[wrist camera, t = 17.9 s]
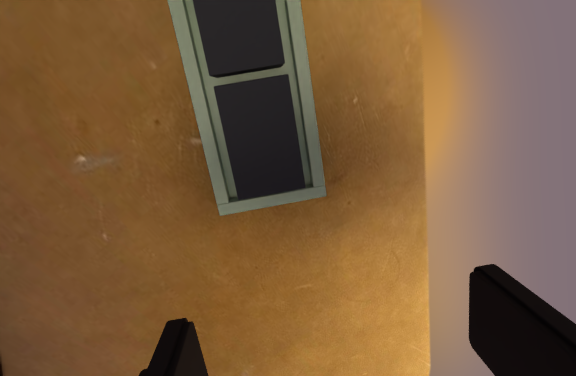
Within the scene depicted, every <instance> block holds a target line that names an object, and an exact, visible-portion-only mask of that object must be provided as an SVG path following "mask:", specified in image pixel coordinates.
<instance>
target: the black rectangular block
mask: <svg viewBox="0 0 576 376" xmlns="http://www.w3.org/2000/svg"><path fill="white" fill-rule="evenodd" d="M193 5H194V9H195V14H196V18H197V23H198V27H199V32H200V36H201V41H202V45H203V50H204V54H205V59H206V63H207V68H208V72H209V76H212V77H215V78H221V77H227V76H233V75H239V74H245V73H251V72H257V71H263V70H269V69H275V68H280V67H282V66H283V65H284V64H285V59H284V52H283V46H282V39H281V33H280V27H279V20H278V14H277V7H276V1H275V0H193Z"/></svg>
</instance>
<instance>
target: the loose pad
mask: <svg viewBox="0 0 576 376" xmlns="http://www.w3.org/2000/svg"><path fill="white" fill-rule="evenodd" d="M214 92H215V96H216V101H217V106H218V110H219V115H220V119H221V124H222V128H223V133H224V138H225V142H226V147H227V151H228V156H229V160H230V165H231V169H232V174H233V179H234V183H235V188H236V192H237V197H238V200H242V199H248V198H253V197H259V196H264V195H270V194H275V193H281V192H286V191H292V190H297V189H303V188H306V186H305V179H304V173H303V166H302V160H301V153H300V147H299V140H298V133H297V127H296V120H295V114H294V107H293V101H292V94H291V88H290V81H289V75H288V74H284V75H278V76H272V77H266V78H261V79H255V80H249V81H243V82H237V83H231V84H225V85H219V86H214Z"/></svg>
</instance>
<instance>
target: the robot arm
mask: <svg viewBox="0 0 576 376" xmlns="http://www.w3.org/2000/svg"><path fill="white" fill-rule="evenodd" d="M469 286H470V287H469V291H470V292H469V341H470V344H471V346H472V348H473V349H474V350H475V352H476V353H477V354H478V355H479V357H480V358H481V359H482V360H483V362H484V363H485V364H486V365H487V366H488V368H489V369H490V370H491V371H492V373H493V374H494V375H495V376H576V324H575V323H573V322H572V321H571V320H569V319H568V318H567V317H565V316H564V315H563V314H561V313H560V312H558V311H557V310H556V309H554V308H553V307H552V306H550V305H549V304H548V303H546V302H545V301H544V300H542V299H541V298H540V297H538V296H537V295H536V294H534V293H533V292H531V291H530V290H529V289H528V288H526V287H525V286H524V285H522V284H521V283H520V282H518V281H517V280H515V279H514V278H513V277H511V276H510V275H509V274H507V273H506V272H505V271H503V270H502V269H501V268H499V267H498V266H496V265H494V264H490V265H484V266H479V267H475V269H474V272H472V273H470V283H469ZM139 376H208V373H207V369H206V366H205V362H204V358H203V355H202V351H201V348H200V344H199V341H198V337H197V333H196V330H195V326H194V323H193V322H192V321H191V322H188V320H187V319H186V318H182V319H176V320H170V321H168V322H167V323H166V325H165V328H164V330H163V332H162V335H161V337H160V340H159V342H158V344H157V347H156V349H155V352H154V354H153V356H152V359H151V361H150V364H149V366H148V369H144V370H142V371H141V372H140V374H139Z"/></svg>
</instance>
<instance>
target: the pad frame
mask: <svg viewBox="0 0 576 376" xmlns="http://www.w3.org/2000/svg"><path fill="white" fill-rule="evenodd" d="M275 1H276V7H277V14H278V20H279V27H280V33H281V39H282V46H283V52H284V59H285V64H284V65H283V66H282V67H280V68H275V69H269V70H263V71H257V72H251V73H245V74H239V75H233V76H227V77H221V78H215V77H212V76H209V72H208V68H207V63H206V59H205V54H204V50H203V45H202V41H201V36H200V32H199V27H198V23H197V18H196V14H195V9H194V5H193V0H168V4H169V8H170V13H171V17H172V21H173V25H174V29H175V33H176V37H177V42H178V46H179V50H180V54H181V58H182V62H183V66H184V70H185V75H186V79H187V83H188V87H189V91H190V95H191V99H192V104H193V108H194V112H195V116H196V120H197V124H198V128H199V133H200V137H201V141H202V145H203V149H204V153H205V157H206V162H207V166H208V170H209V174H210V178H211V182H212V186H213V190H214V195H215V199H216V203H217V207H218V211H219V215H220V216H222V215H227V214H233V213H238V212H244V211H249V210H254V209H260V208H265V207H271V206H276V205H281V204H287V203H292V202H298V201H303V200H309V199H314V198H319V197H325V196H327V194H326V187H325V179H324V172H323V164H322V157H321V150H320V142H319V135H318V127H317V120H316V112H315V105H314V97H313V90H312V83H311V75H310V68H309V60H308V53H307V45H306V38H305V31H304V23H303V16H302V8H301V1H300V0H275ZM284 74H288V75H289V81H290V88H291V94H292V101H293V107H294V114H295V120H296V127H297V133H298V140H299V147H300V153H301V160H302V166H303V173H304V179H305V186H306V188H303V189H297V190H292V191H286V192H281V193H275V194H270V195H264V196H259V197H253V198H248V199H242V200H238V197H237V192H236V188H235V183H234V179H233V174H232V169H231V165H230V160H229V156H228V151H227V147H226V142H225V138H224V133H223V128H222V124H221V119H220V115H219V110H218V106H217V101H216V96H215V92H214V86H219V85H225V84H231V83H237V82H243V81H249V80H255V79H261V78H266V77H272V76H278V75H284Z"/></svg>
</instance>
